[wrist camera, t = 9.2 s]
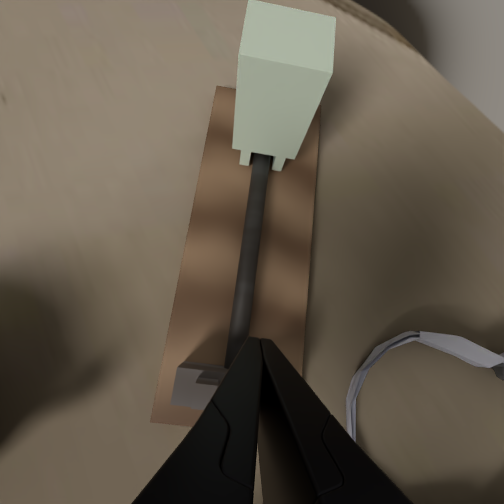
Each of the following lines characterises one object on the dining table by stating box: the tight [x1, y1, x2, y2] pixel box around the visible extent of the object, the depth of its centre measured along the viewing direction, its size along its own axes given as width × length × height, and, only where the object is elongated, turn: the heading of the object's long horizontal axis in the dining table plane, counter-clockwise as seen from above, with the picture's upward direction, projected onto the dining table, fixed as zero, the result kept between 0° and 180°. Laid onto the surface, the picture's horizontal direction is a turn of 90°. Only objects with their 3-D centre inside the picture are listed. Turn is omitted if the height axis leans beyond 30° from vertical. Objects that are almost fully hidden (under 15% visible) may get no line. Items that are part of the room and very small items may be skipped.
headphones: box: [346, 331, 504, 442], centre depth 20 cm, size 17×6×20 cm
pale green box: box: [232, 0, 336, 171], centre depth 20 cm, size 4×5×10 cm
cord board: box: [150, 86, 321, 427], centre depth 21 cm, size 28×10×6 cm, turn 173°
